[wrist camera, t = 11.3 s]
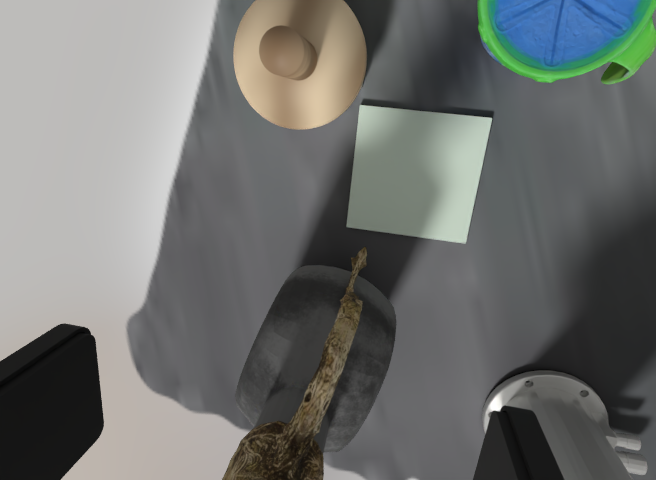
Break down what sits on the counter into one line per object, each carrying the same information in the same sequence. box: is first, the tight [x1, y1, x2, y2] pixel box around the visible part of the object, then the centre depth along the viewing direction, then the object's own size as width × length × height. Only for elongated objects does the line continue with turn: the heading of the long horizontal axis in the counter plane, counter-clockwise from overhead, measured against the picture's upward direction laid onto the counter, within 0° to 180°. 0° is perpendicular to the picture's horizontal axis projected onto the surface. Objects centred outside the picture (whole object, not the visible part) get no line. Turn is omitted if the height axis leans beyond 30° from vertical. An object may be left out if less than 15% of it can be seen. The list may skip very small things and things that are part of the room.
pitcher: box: [222, 247, 396, 480], centre depth 31 cm, size 11×19×30 cm, turn 158°
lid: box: [234, 0, 367, 129], centre depth 31 cm, size 11×11×6 cm
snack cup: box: [478, 0, 656, 84], centre depth 30 cm, size 16×10×10 cm
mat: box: [346, 105, 492, 244], centre depth 40 cm, size 12×12×1 cm
